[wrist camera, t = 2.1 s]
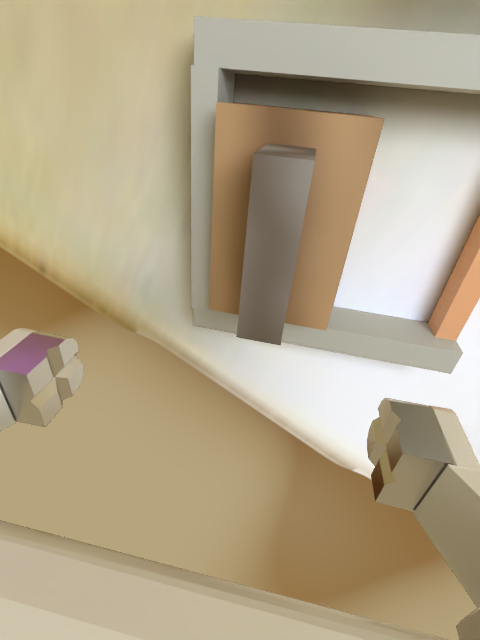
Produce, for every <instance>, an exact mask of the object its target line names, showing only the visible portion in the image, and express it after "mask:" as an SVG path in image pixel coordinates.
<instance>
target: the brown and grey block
mask: <svg viewBox="0 0 480 640" xmlns="http://www.w3.org/2000/svg"><path fill="white" fill-rule="evenodd" d="M383 122H384V119H383V118H378V117H373V116H368V115H358V114H348V113H338V112H328V111H317V110H307V109H297V108H287V107H277V106H266V105H256V104H246V103H225V102H216V121H215V150H214V180H213V210H212V240H211V270H210V300H209V310H215V311H220V312H226V313H231V314H237V315H239V316H238V327H237V337H239V338H245V339H250V340H255V341H260V342H266V343H271V344H276V345H281V339H282V334H283V329H284V323H287V324H292V325H298V326H303V327H309V328H314V329H320V330H325V331H326V329H327V326H328V322H329V319H330V315H331V311H332V308H333V304H334V300H335V297H336V293H337V289H338V286H339V282H340V279H341V275H342V271H343V268H344V264H345V260H346V257H347V253H348V250H349V246H350V242H351V239H352V235H353V231H354V228H355V224H356V220H357V217H358V213H359V210H360V206H361V202H362V199H363V195H364V191H365V188H366V184H367V180H368V177H369V173H370V170H371V166H372V162H373V159H374V155H375V151H376V148H377V144H378V141H379V137H380V133H381V130H382V126H383Z"/></svg>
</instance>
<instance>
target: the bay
mask: <svg viewBox="0 0 480 640" xmlns="http://www.w3.org/2000/svg"><path fill="white" fill-rule="evenodd" d="M235 73H237V74H249V75H260V76H272V77H283V78H295V79H306V80H318V81H329V82H341V83H352V84H364V85H375V86H387V87H398V88H410V89H421V90H433V91H444V92H456V93H467V94H479V95H480V35H475V34H460V33H445V32H430V31H415V30H399V29H384V28H369V27H354V26H339V25H323V24H308V23H293V22H278V21H263V20H247V19H232V18H217V17H202V16H194V65H191V308H193V325H194V326H199V327H204V328H210V329H215V330H220V331H226V332H231V333H236V334H237V327H238V316H239V315H237V314H231V313H226V312H220V311H215V310H209V300H210V270H211V240H212V210H213V180H214V150H215V121H216V102H225V103H233V101H234V84H235ZM479 298H480V215H479V217H478V219H477V221H476V223H475V225H474V227H473V229H472V231H471V233H470V235H469V238H468V240H467V242H466V244H465V246H464V248H463V250H462V252H461V254H460V256H459V259H458V261H457V263H456V265H455V267H454V269H453V271H452V273H451V275H450V277H449V280H448V282H447V284H446V286H445V288H444V290H443V292H442V294H441V296H440V298H439V301H438V303H437V305H436V307H435V309H434V311H433V313H432V315H431V317H430V319H429V322H428V323H427V322H421V321H415V320H409V319H403V318H397V317H392V316H386V315H380V314H374V313H368V312H362V311H356V310H351V309H345V308H339V307H333V308H332V311H331V315H330V319H329V322H328V326H327V329H326V331H325V330H320V329H314V328H309V327H303V326H298V325H292V324H287V323H284V329H283V334H282V339H281V342H284V343H290V344H295V345H300V346H306V347H311V348H316V349H322V350H327V351H332V352H338V353H343V354H348V355H354V356H359V357H364V358H370V359H375V360H380V361H386V362H391V363H396V364H402V365H407V366H412V367H418V368H423V369H428V370H433V371H439V372H444V373H449V374H451V373H452V371H453V369H454V367H455V366H456V364H457V362H458V361H459V359H460V357H461V355H462V354H463V352H462V350H461V349H460V347H459V345H458V343H457V342H456V340H457V338H458V336H459V334H460V332H461V331H462V329H463V327H464V325H465V323H466V322H467V320H468V318H469V316H470V314H471V313H472V311H473V309H474V307H475V305H476V304H477V302H478V300H479Z"/></svg>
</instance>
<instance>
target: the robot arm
mask: <svg viewBox="0 0 480 640" xmlns="http://www.w3.org/2000/svg"><path fill="white" fill-rule="evenodd" d="M78 351H79V348H78V345H77V342H76V340H74V339H72V338H69V337H65V336H60V335H56V334H51V333H46V332H42V331H35V330H31V329H26V328H19V329H15V330H13V331H12V332H11V333H9V334H8V335H6V336H5V337H4V338H2V339H1V340H0V432H1V431H3V430H4V429H6V428H8V427H9V426H11V425H13V424H15V421H17V422H22V423H27V424H32V425H38V426H42V427H46V426H47V425H48V424H49V423H50V422H51V420H52V419H53V418H54V417H55V416H56V415H57V414H58V412H59V411H60V410H61V409H62V400H64V399H66V398H68V397H71V396H73V395H74V393H75V392H76V391H77V390H78V388H79V387H80V384H81V382H82V378H83V371H84V369H83V365H82V362H81V361H80V360H79V359H78V358H77V357H76V354H77V352H78ZM378 410H379V416H380V417H379V418H377V419H375V420H373V421H372V424H371V426H370V429H369V433H368V439H367V451H368V458H369V460H370V461H371V462H372V463H373V464H374V466H375V468H374V470H373V472H372V474H371V478H372V484H373V490H374V497H375V502H378V503H382V504H386V505H390V506H394V507H398V508H402V509H405V510H409V511H413V512H414V513H413V514H414V515H415V517H416V518H417V520H418V521H419V523H420V524H421V526H422V527H423V529H424V530H425V532H426V533H427V534H428V536H429V538H430V539H431V540H432V542H433V543H434V545H435V546H436V548H437V549H438V551H439V552H440V554H441V555H442V557H443V558H444V559H445V561H446V562H447V564H448V565H449V567H450V568H451V570H452V571H453V573H454V574H455V576H456V577H457V578H458V580H459V582H460V583H461V585H462V586H463V587H464V589H465V590H466V592H467V593H468V595H469V596H470V598H471V599H472V601H473V602H474V604H475V605H476V606H477V609H476V610H474V611H473V612H471V613H470V614H469V615H468V616H466V617H465V618H464V619H462V620H461V621H460V622H459V624H458V625H457V626H456V628H457V632H458V635H459V639H460V640H480V464H479V462H478V460H477V458H476V456H475V454H474V452H473V449H472V447H471V445H470V443H469V441H468V439H467V437H466V434H465V432H464V430H463V428H462V426H461V424H460V422H459V419H458V417H457V415H456V413H455V412H454V411H453V410H451V409H446V408H441V407H435V406H427V405H422V404H417V403H411V402H406V401H400V400H395V399H389V398H384V399H383V400H382V401H381V404H380V406H379V408H378ZM0 640H447V639H443V638H440V637H436V636H432V635H429V634H425V633H421V632H417V631H413V630H410V629H406V628H402V627H399V626H395V625H391V624H387V623H383V622H380V621H376V620H372V619H369V618H365V617H361V616H357V615H353V614H349V613H346V612H342V611H339V610H335V609H331V608H327V607H324V606H320V605H316V604H312V603H309V602H305V601H301V600H297V599H294V598H290V597H286V596H283V595H278V594H275V593H271V592H268V591H263V590H260V589H256V588H252V587H249V586H245V585H241V584H238V583H233V582H230V581H226V580H222V579H218V578H215V577H211V576H208V575H204V574H200V573H196V572H193V571H189V570H185V569H181V568H177V567H173V566H170V565H166V564H162V563H159V562H155V561H151V560H148V559H144V558H140V557H136V556H133V555H129V554H125V553H121V552H117V551H114V550H110V549H106V548H102V547H99V546H95V545H91V544H87V543H84V542H80V541H76V540H72V539H69V538H65V537H61V536H57V535H54V534H50V533H46V532H43V531H39V530H35V529H31V528H28V527H24V526H20V525H16V524H12V523H9V522H5V521H1V520H0Z"/></svg>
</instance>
